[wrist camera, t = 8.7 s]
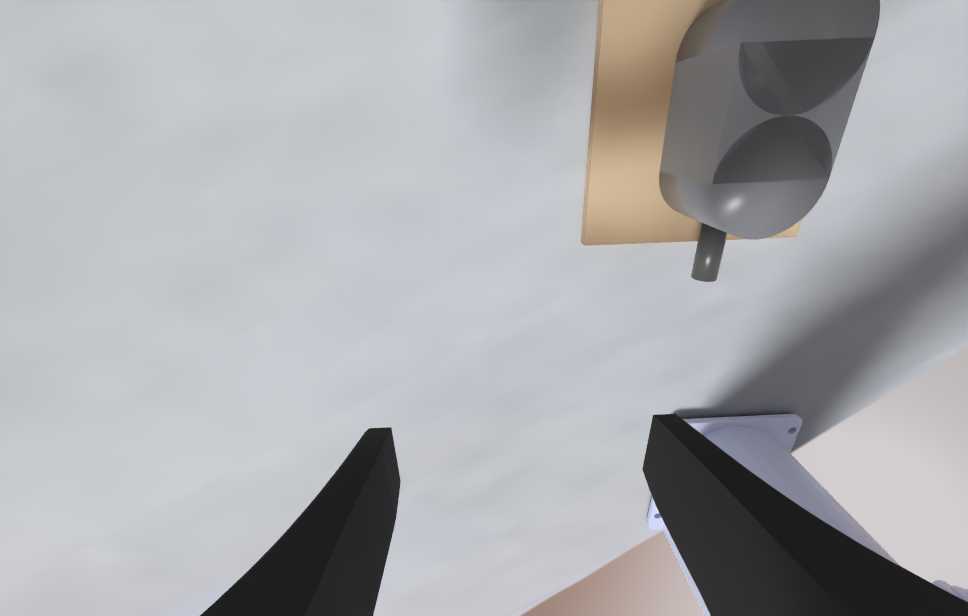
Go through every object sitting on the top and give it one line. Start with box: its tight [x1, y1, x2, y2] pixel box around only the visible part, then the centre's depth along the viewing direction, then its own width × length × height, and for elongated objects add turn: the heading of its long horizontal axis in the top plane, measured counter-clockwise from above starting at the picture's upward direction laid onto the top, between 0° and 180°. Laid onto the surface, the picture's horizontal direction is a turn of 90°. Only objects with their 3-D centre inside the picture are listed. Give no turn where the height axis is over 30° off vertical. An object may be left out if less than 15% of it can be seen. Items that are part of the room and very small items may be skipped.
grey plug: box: [659, 0, 880, 282], centre depth 15 cm, size 10×4×4 cm, turn 2°
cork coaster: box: [581, 0, 803, 245], centre depth 16 cm, size 10×10×1 cm
